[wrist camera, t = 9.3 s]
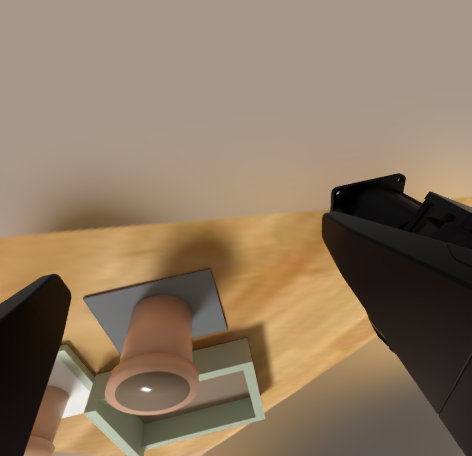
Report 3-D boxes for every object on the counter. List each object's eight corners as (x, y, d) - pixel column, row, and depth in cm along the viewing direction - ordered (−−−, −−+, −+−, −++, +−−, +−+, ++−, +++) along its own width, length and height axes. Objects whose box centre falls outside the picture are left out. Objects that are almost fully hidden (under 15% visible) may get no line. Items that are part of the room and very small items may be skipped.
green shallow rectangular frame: (247, 337, 30) (254, 370, 27) (260, 395, 38) (267, 427, 34) (95, 374, 30) (83, 413, 26) (139, 426, 37) (133, 462, 33)
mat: (210, 268, 24) (210, 269, 24) (227, 328, 29) (227, 329, 29) (83, 297, 24) (82, 299, 24) (121, 353, 28) (121, 355, 28)
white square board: (66, 344, 26) (64, 350, 26) (114, 400, 33) (113, 406, 32) (-37, 368, 26) (-42, 375, 25) (31, 421, 32) (28, 427, 32)
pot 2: (187, 284, 24) (186, 357, 18) (203, 329, 28) (207, 403, 22) (114, 300, 24) (87, 380, 18) (140, 344, 28) (125, 423, 21)
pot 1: (57, 378, 28) (30, 440, 23) (81, 402, 31) (62, 462, 26) (5, 391, 28) (-34, 456, 23) (34, 414, 31) (6, 476, 26)
